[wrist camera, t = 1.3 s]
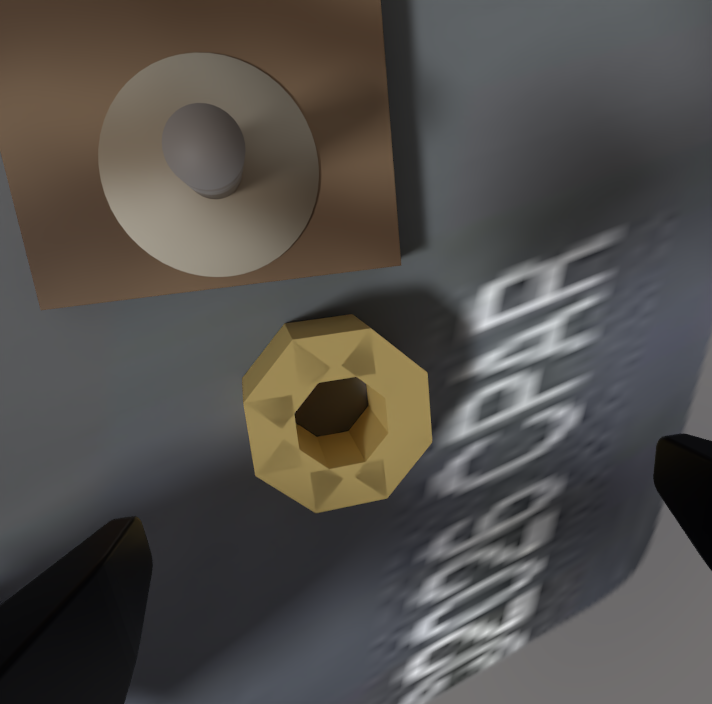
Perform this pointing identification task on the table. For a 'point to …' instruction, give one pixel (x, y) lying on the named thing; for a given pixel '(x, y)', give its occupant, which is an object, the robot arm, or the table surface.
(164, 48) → the gear board
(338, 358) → the tan ring
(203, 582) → the table surface
